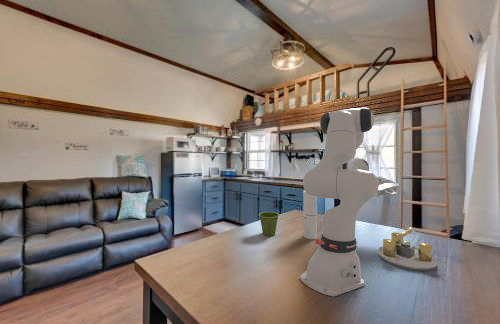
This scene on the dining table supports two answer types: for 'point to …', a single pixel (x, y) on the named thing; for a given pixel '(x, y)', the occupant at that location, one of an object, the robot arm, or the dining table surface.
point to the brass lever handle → (401, 235)
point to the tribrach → (408, 255)
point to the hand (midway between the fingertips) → (395, 195)
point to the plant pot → (268, 222)
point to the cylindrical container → (309, 216)
